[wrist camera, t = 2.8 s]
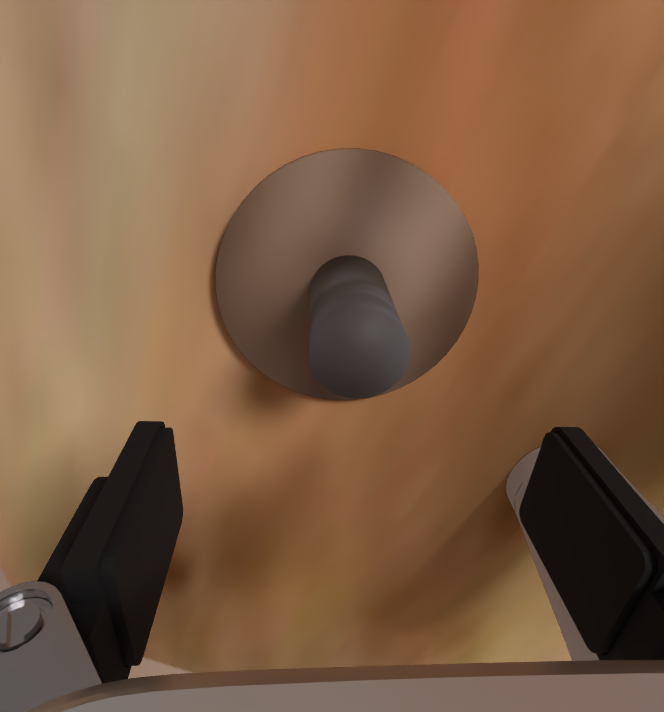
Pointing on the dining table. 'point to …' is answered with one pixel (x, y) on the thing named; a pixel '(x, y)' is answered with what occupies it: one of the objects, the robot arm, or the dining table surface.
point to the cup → (515, 495)
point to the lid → (346, 274)
